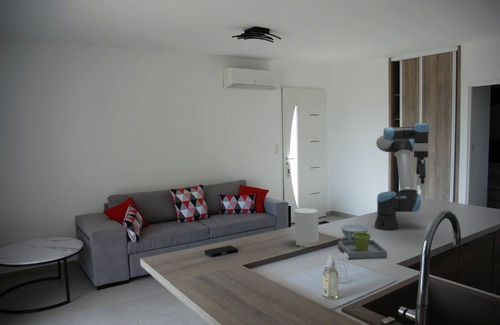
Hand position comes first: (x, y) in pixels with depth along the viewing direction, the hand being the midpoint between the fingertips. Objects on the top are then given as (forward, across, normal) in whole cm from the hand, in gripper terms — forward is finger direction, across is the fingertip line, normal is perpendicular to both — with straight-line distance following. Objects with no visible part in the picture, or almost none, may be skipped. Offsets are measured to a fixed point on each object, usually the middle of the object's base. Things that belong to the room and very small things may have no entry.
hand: (420, 187), depth 222 cm
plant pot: (+31, -28, +32) cm, 52 cm away
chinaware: (+32, -7, +37) cm, 49 cm away
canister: (+32, -19, +63) cm, 73 cm away
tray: (+31, -28, +33) cm, 53 cm away
